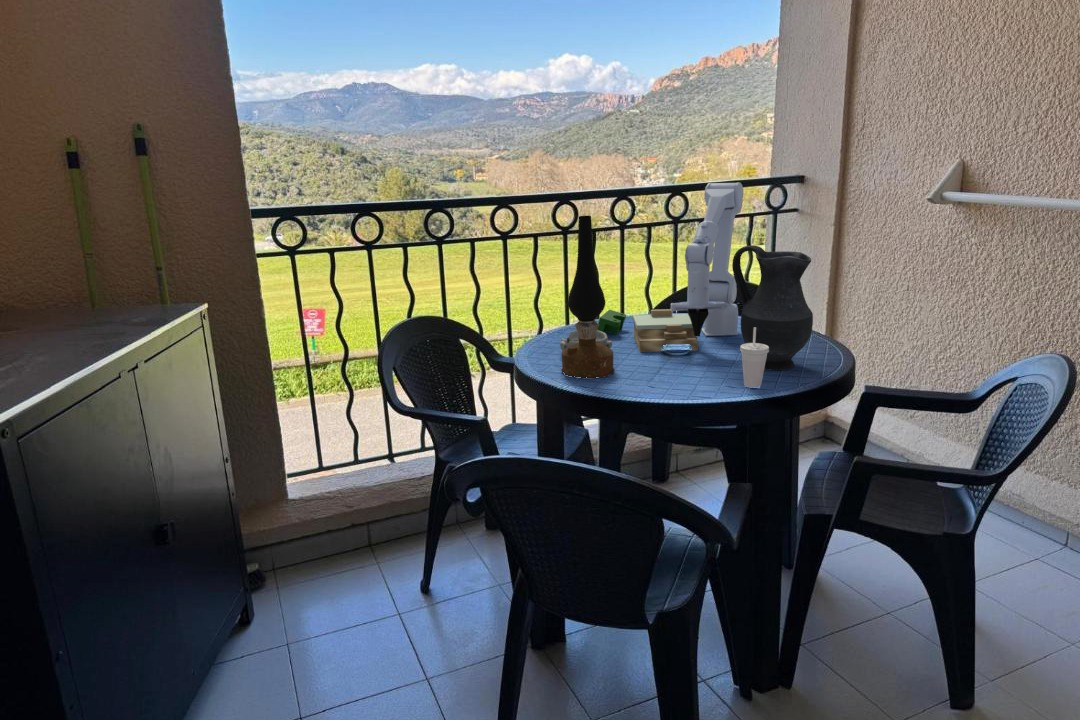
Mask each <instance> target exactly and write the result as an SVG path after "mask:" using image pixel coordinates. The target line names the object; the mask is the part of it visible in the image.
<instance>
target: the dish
mask: <svg viewBox="0 0 1080 720" xmlns="http://www.w3.org/2000/svg"><path fill="white" fill-rule="evenodd" d="M595 336H596V343H598V342H600V344H602V345H604V346H606V347H608V348H610V349H611V348H612V346H613V341H612V340H609V338H608V335H607V333H604V332H601V331H598V330H597V332H596V334H595ZM567 337H569V339H570V340H579V339H578V337H579V334H578V332H577V329H576V330H572V331H569V332H568V335H567ZM560 339H561V340H560V342H559V347H560V349H561V351H562V352H563V351H564V350H565V349H567V348H568V347H570V346H572V345H574V344H576V343H579V341H569V343H567V339H565V338H564V337H561V338H560ZM562 352H561V353H562Z"/></svg>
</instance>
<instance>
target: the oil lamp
mask: <svg viewBox="0 0 1080 720" xmlns="http://www.w3.org/2000/svg"><path fill="white" fill-rule="evenodd" d="M592 225H593V224H592V215H579V216H578V226H577V227H578V233H577V234H578V235H577V257H576V258H577V261H576V270H575V273H574V278H573V282H572V286H571V287H570V291H569V293H568V300H567V307H568V309H569V312H570V313H571V314H572V315H573V317H576V318H577V320H578V321H577V323H575V324H574V327H575V329H576V330H577V332H578V334H579V337H578V339H579V340H570V339H569V337H568V336H567V338H566V340H567V343H569V341H579V343H576V344H574V345H572V346H570V347H568V348H567V349H565V350H564V351H563V352H561V363H562V364H561V365H562V368H561V369H560V371H562V372H561V373H563V372H564V373H565V375H568V376H572V377H574V376H575V377H581V378H586V377H587V378H596V377H603V378H605V377H604V376H607V377H609V376H611V375H612V374H614V372H615V367H614V351H613V350H612V349H611V348H608V347H606V346H604V345H602V344H600V342H598V343H596V336H595V334H596V332H597V329H598V327H599V324H598V323H599V322H597V321H596V320H597V318H599V316H600V315H601V314H602V312H603V311H604V310H605V306H606V299H605V295H604V294H605V293H604V291H603V288H602V286H601V283H600V280H599V277H598V274H597V272H596V267H595V266H596V265H595V258H594V257H595V256H594V242H593V229H592V227H593V226H592ZM565 375H564V376H565ZM608 375H609V376H608Z"/></svg>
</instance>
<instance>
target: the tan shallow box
mask: <svg viewBox="0 0 1080 720" xmlns="http://www.w3.org/2000/svg"><path fill="white" fill-rule="evenodd" d="M682 331H686V333H687V338H679V339H665V338H664V332H666V329H642V330H637V328H636V326H635V323H634V322H633V337H634V340H635V343H636V345H637V348H638V350H639V352H640V353H644V352H645V353H648V352H649V353H651V352H662V351H661V348H662V346H663V345H666V344H690V345H691V347H692V350H691V351H698V350H699V349H698V348H699V345H698V344H699V339H698V336H694V332H693V328H682Z"/></svg>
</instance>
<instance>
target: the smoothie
mask: <svg viewBox="0 0 1080 720" xmlns="http://www.w3.org/2000/svg"><path fill="white" fill-rule="evenodd" d="M755 340H756V327H754V330H753V343H746V344H745V343H743V344H740V349H739V351H740V352H741V360H742V361H741V362H742V363H741V364H742V373H743V384H744V385H745V386H748V387H759V386H761V387H762V382H763V378H764V371H765V369H764V368H765V362H766V358H767V353H768V352H769V346H767V345H765V344H760V343H755ZM744 385H743V386H744ZM745 386H744V387H745Z"/></svg>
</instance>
